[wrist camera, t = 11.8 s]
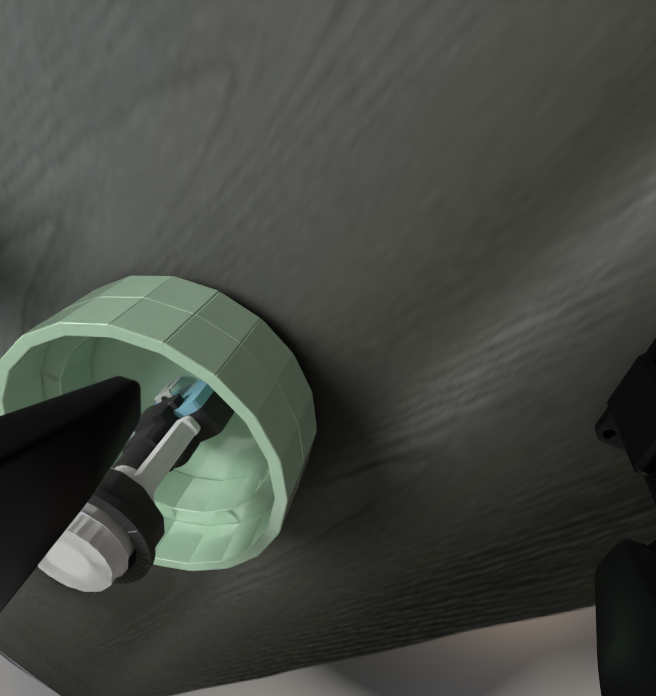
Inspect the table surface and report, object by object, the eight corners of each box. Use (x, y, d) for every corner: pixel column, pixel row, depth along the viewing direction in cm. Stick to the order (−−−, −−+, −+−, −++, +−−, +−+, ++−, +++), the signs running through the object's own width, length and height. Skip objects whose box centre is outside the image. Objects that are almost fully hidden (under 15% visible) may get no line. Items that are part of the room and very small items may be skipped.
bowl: (348, 324, 22) (316, 393, 18) (292, 521, 30) (260, 605, 26) (64, 233, 24) (-34, 276, 19) (80, 444, 31) (13, 512, 27)
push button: (176, 455, 29) (56, 620, 20) (115, 385, 27) (-44, 533, 19) (263, 419, 26) (164, 595, 17) (200, 338, 24) (57, 489, 16)
